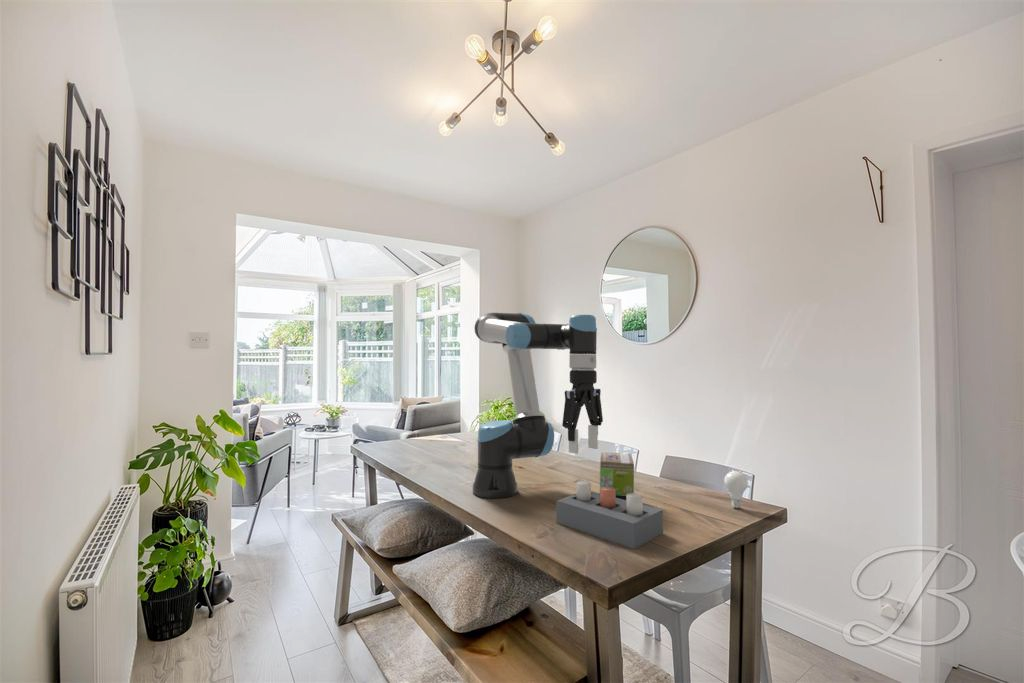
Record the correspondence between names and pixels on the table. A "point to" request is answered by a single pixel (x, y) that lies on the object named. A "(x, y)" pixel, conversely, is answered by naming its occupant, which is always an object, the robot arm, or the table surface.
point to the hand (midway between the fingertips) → (583, 450)
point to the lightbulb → (736, 487)
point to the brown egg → (607, 497)
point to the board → (610, 520)
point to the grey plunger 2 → (634, 504)
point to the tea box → (617, 473)
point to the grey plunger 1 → (583, 491)
